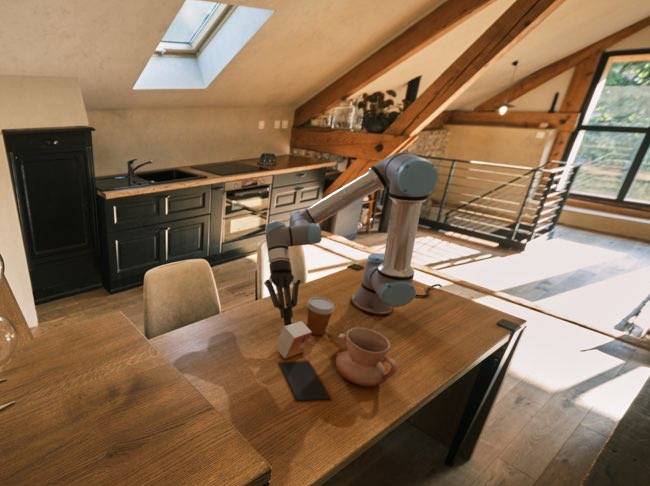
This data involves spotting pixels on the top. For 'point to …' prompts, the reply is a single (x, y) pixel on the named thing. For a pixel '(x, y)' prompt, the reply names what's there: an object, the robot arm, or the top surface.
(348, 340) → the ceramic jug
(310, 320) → the disposable coffee cup
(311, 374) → the mat
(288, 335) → the small box
